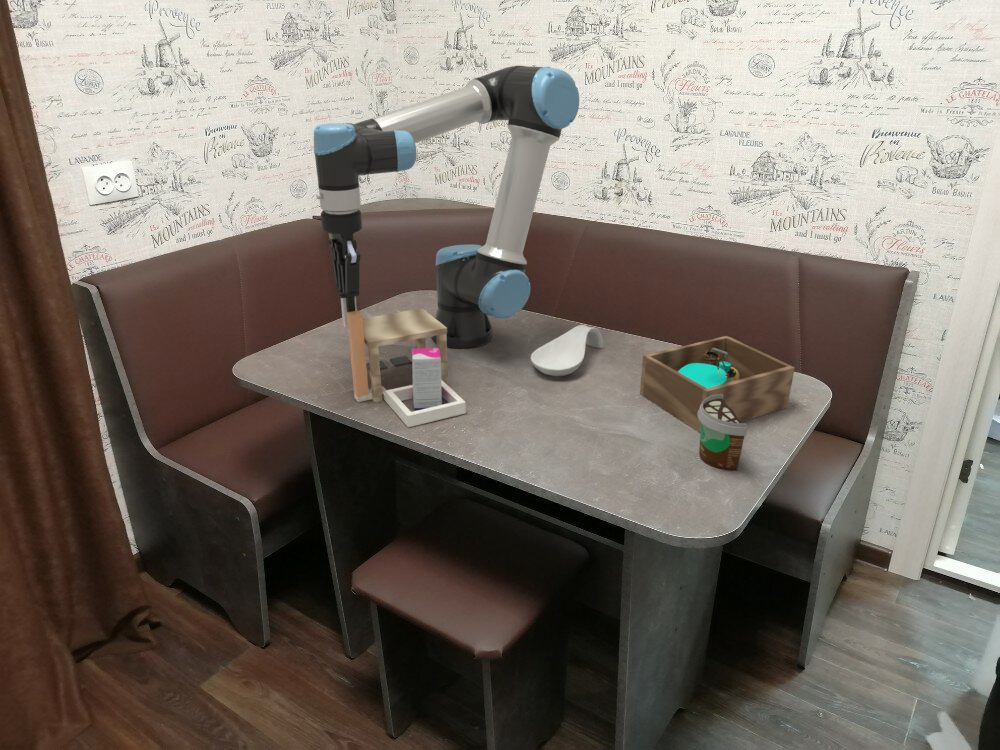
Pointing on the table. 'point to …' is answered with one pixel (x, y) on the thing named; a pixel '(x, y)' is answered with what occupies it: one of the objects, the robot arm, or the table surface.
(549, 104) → the robot arm
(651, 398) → the teapot crate
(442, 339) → the small wooden stool
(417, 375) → the supplement box
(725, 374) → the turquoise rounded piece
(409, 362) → the plate
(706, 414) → the food container
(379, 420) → the table surface
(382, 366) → the plate
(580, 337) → the spoon rest
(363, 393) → the sled
